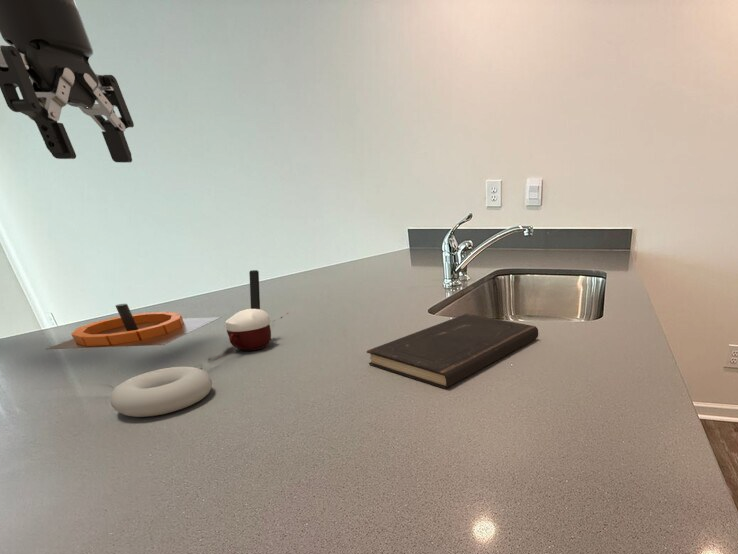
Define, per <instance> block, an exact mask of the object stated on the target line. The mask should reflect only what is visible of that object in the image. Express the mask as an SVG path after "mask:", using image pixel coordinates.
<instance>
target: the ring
mask: <svg viewBox="0 0 738 554" xmlns="http://www.w3.org/2000/svg"><path fill="white" fill-rule="evenodd" d="M132 316H133V318H134V321H135V323H136V324H140V323H147V322H163V323H161V324H158V325H155V326H150V327H146V328H142V329H138V330H133V331H126V332H119V333H112V334H97V333H100V332H103V331H105V330H109V329H113V328H118V327H122V326H124V324H123V322H122V319H121V317H120V316H116V317H112V318H106V319H102V320H98V321H94V322H91V323H89V324H85V325H83V326H80V327H77V328H76V329H75V330H74V331H73V332H72V333H70V334H71V336H72V339H74V340H75V342H76V343H77V344H81V345H84V346H104V345H111V344H112V345H116V344H122V343H129V342H135V341H140V340H145V339H149V338H153V337H156V336H160V335H164V334H166V333H170V332H172V331H174V330H176V329H178V328H181V327H182V326H183V322H184V321H183V319H182V318H183V316H182V314H181V313H178V312H173V311H153V312H152V311H151V312H143V313H135V314H132Z"/></svg>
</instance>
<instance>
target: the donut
mask: <svg viewBox="0 0 738 554" xmlns="http://www.w3.org/2000/svg"><path fill="white" fill-rule="evenodd" d="M212 387H213V381H212V379H211V377H210V375H209V374H208V372H206V371H205V370H203V369H200V368H198V367H193V366H173V367H165V368H159V369H155V370H151V371H148V372H144V373H141V374H138V375H136V376H133V377H131V378H128V379H127V380H124V381H123V382H121V383H119V384H118V385H117V386H116V387H115V388H114V389H113V391H112V392H111V393H110V405H111V407H112V408H113V409H114V410H115V411H117V412H118V413H120V414H122V415H124V416H127V417H135V418H143V417H144V418H145V417H156V416H161V415H167V414H170V413H173V412H176V411H181V410H183V409H186V408H188V407H190V406H193V405H195V404H196V403H198V402H200V401H202V400H203V399H204V398H205V397H206V396H207V395H208V394H209V393H210V391H211V389H212Z"/></svg>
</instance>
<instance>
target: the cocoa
mask: <svg viewBox="0 0 738 554" xmlns="http://www.w3.org/2000/svg"><path fill="white" fill-rule="evenodd" d="M248 276H249V297H250V300H249V301H250V308H247V309H243V310H240V311H237V312H236V313H235V314H233V315H232V316H231V317H228V319H226V321H225V322H224V327H225V329H226V333H227V335H228V339H229V343H230V344H231V345H232V346H233V347H234V348H236V349H238V350H242V351H247V352H248V351H249V352H250V351H257V350H262V349H263V348H265V347H267V346H268V345H269V344H270V343H271V340H272V330H271V325H270V324H271V318H270V315H269V313H267V312H266V311H264V310H263V309H261V299H260V271H259V270H257V269H253V270H251V269H250V271H249V275H248Z"/></svg>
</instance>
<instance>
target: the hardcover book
mask: <svg viewBox="0 0 738 554" xmlns="http://www.w3.org/2000/svg"><path fill="white" fill-rule="evenodd" d="M538 337H539V328H538V327H537V326H536V325H531V324H526V323H522V322H521V323H520V322H516V321H510V320H504V319H499V318H493V317H487V316H481V315H477V314H471V313H464V314H462V315H458V316H456V317H453V318H451V319H448V320H446V321H443V322H440V323H438V324H435V325H432V326H429V327H427V328H424V329H421V330H419V331H416V332H413V333H411V334H408V335H405V336H403V337H400V338H397V339H395V340H392V341H388V342H385V343H384V344H380V345H378V346H374V347H373V348H371V349H370V348H369V349H367V350H366V354H369V355H370V357H369V359H370V361H369V362H368V366H369V365H370V366H372V367H376V368H377V369H378V368H379V369H382V370H385V371H388V372H390V373H395V374H397V375H401V376H404V377H406V378H410V379H413V380H417V381H419V382H423V383H425V384H429V385H432V386H434V387H438V388H440V389H447V388H449V387H450V386H453V385H455V384H456V383H458V382H460V381H461V380H463V379H465V378H467V377H469V376H471V375H473V374H475V373H476V372H478V371H480V370H483V369H484V368H486V367H488V366H490V365H491V364H492V363H495V362H496V361H498V360H500V359H502V358H503V357H506V356H507V355H509V354H511V353H512V352H515V351H516V350H518V349H520V348H522V347H523V346H526V345H527V344H529V343H531V342H533V341H534V340H536V339H538Z"/></svg>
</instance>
